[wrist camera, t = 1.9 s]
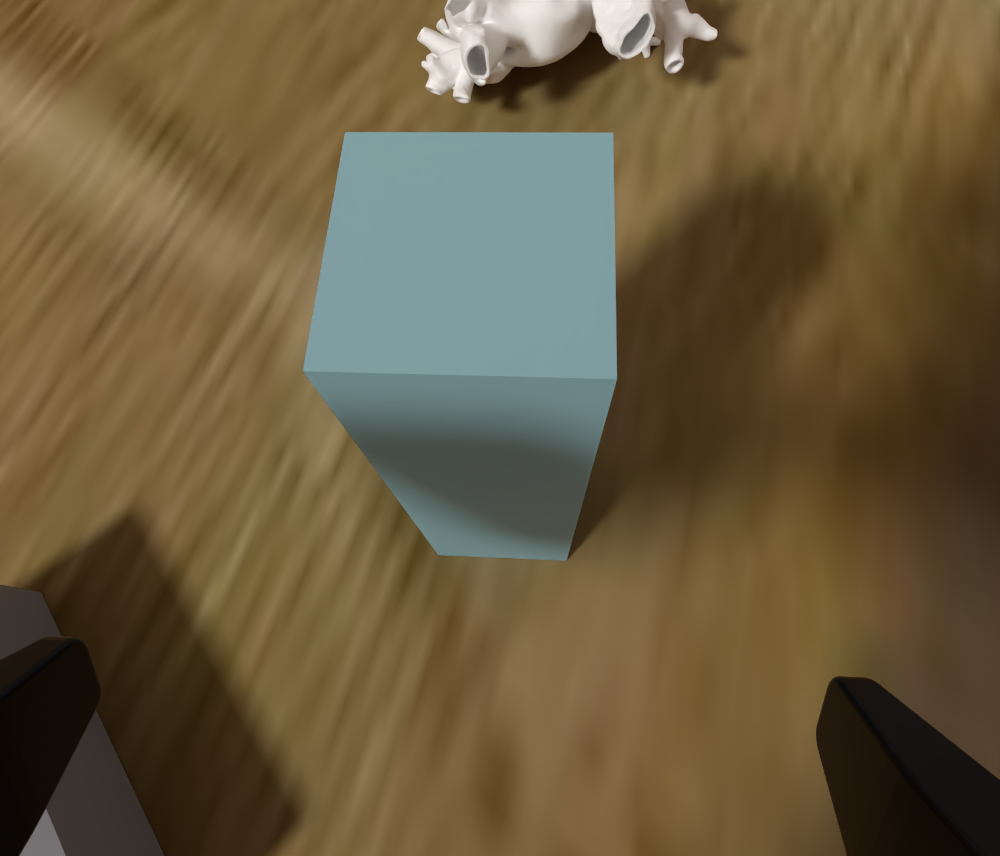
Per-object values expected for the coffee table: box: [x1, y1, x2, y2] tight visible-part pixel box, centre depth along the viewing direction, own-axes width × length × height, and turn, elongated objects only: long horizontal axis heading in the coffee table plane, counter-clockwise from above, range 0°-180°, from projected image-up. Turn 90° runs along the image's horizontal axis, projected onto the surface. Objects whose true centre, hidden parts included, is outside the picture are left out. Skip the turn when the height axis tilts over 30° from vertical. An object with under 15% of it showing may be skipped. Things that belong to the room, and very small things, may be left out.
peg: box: [303, 132, 617, 561], centre depth 15 cm, size 4×4×13 cm
